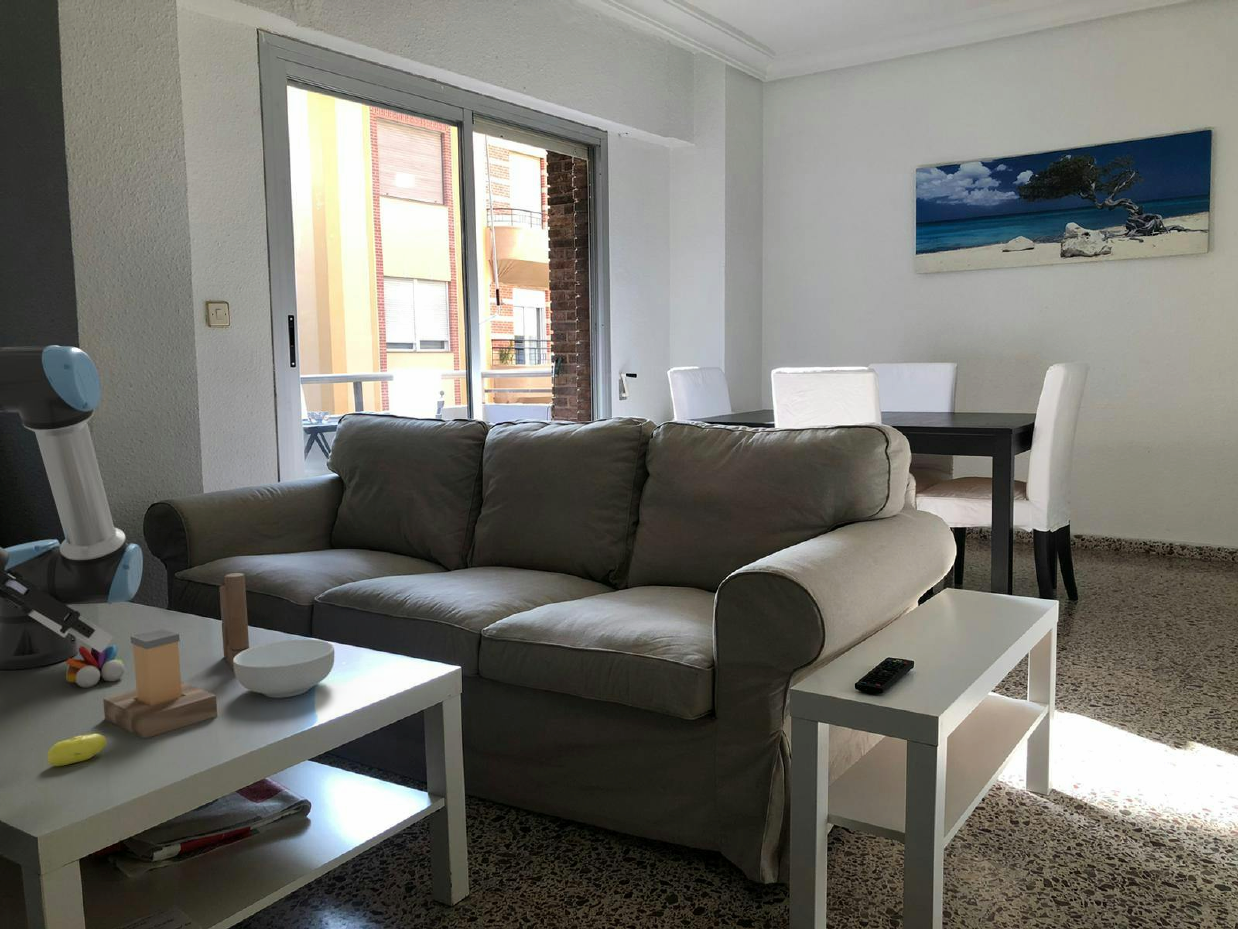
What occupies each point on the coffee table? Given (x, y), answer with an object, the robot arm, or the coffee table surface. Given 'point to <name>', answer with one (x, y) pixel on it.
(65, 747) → the yellow oblong piece
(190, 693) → the header block
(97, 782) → the coffee table surface
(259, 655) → the cereal bowl
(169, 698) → the plug
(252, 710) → the coffee table surface
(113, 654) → the rainbow petal toy
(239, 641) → the wooden v-shaped piece
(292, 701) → the coffee table surface
